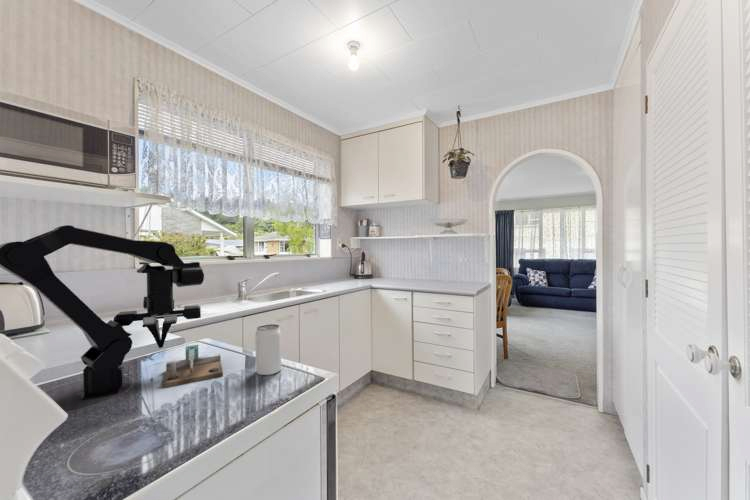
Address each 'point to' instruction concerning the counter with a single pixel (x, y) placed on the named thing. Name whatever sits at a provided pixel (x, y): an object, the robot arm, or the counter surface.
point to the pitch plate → (201, 370)
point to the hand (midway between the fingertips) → (161, 347)
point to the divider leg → (191, 355)
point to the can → (268, 349)
